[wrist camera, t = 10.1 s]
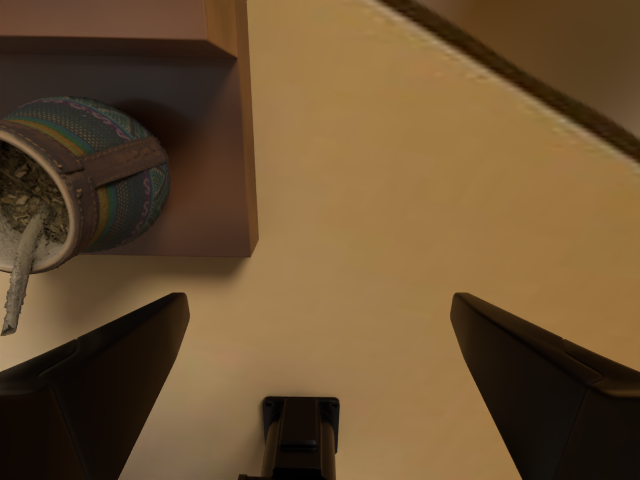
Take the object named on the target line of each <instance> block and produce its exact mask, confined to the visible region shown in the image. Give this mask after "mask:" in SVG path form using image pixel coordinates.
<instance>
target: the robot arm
mask: <svg viewBox="0 0 640 480" xmlns="http://www.w3.org/2000/svg"><path fill="white" fill-rule="evenodd" d="M189 319H190V312H189V306H188V300H187V296H186V294H185V293H171V294H169V295H167V296H164V297H162V298H160V299H158V300H156V301H154V302H152V303H150V304H148V305H146V306H143V307H141V308H139V309H137V310H135V311H133V312H131V313H129V314H127V315H125V316H122V317H120V318H118V319H116V320H114V321H112V322H110V323H108V324H106V325H103V326H101V327H99V328H97V329H95V330H93V331H91V332H89V333H87V334H85V335H82V336H80V337H78V338H77V340H76V339H74V340H72V341H70V342H68V343H66V344H63V345H61V346H59V347H57V348H55V349H53V350H50V351H48V352H46V353H44V354H41V355H39V356H37V357H34V358H32V359H30V360H28V361H25V362H23V363H21V364H18V365H16V366H13V367H11V368H9V369H6V370H4V371H1V372H0V480H118V478H119V476H120V474H121V472H122V470H123V468H124V465H125V463H126V461H127V459H128V457H129V455H130V453H131V451H132V449H133V447H134V445H135V443H136V441H137V439H138V437H139V434H140V432H141V430H142V428H143V426H144V424H145V422H146V420H147V418H148V416H149V414H150V412H151V410H152V408H153V406H154V403H155V401H156V399H157V397H158V395H159V393H160V391H161V389H162V387H163V385H164V383H165V381H166V379H167V377H168V375H169V372H170V370H171V368H172V366H173V364H174V362H175V360H176V357H177V355H178V352H179V349H180V346H181V343H182V340H183V337H184V334H185V331H186V329H187V326H188V323H189ZM450 319H451V323H452V326H453V329H454V331H455V334H456V337H457V340H458V343H459V346H460V349H461V352H462V354H463V357H464V360H465V362H466V364H467V366H468V368H469V370H470V372H471V375H472V377H473V379H474V381H475V383H476V385H477V387H478V389H479V391H480V393H481V395H482V397H483V399H484V401H485V403H486V406H487V408H488V410H489V412H490V414H491V416H492V418H493V420H494V422H495V424H496V426H497V428H498V430H499V432H500V434H501V437H502V439H503V441H504V443H505V445H506V447H507V449H508V451H509V453H510V455H511V457H512V459H513V461H514V463H515V465H516V468H517V470H518V472H519V474H520V476H521V478H522V480H640V372H639V371H636V370H634V369H631V368H629V367H627V366H624V365H622V364H619V363H617V362H615V361H612V360H610V359H608V358H606V357H603V356H601V355H599V354H596V353H594V352H592V351H590V350H587V349H585V348H583V347H581V346H579V345H577V344H575V343H572V342H570V341H568V340H566V339H564V340H563V338H562V337H560V336H558V335H555V334H553V333H551V332H549V331H547V330H545V329H543V328H541V327H539V326H537V325H534V324H532V323H530V322H528V321H526V320H524V319H522V318H520V317H518V316H515V315H513V314H511V313H509V312H507V311H505V310H503V309H501V308H499V307H497V306H494V305H492V304H490V303H488V302H486V301H484V300H482V299H480V298H478V297H476V296H473V295H471V294H469V293H455V294H454V296H453V300H452V306H451V312H450ZM268 402H269V403H268ZM333 403H335V404H333ZM339 409H340V403H339V400H338V399H337V398H334V397H272V396H269V397H266V398H265V399H264V402H263V415H264V433H265V453H264V459H263V465H262V472H261V477H255V476H247V475H245V474H239V478H238V480H336V468H335V454H336V453H337V446H338V427H339Z"/></svg>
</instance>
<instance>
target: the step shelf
mask: <svg viewBox="0 0 640 480" xmlns="http://www.w3.org/2000/svg"><path fill="white" fill-rule="evenodd" d="M53 95H54V96H60V95H61V96H74V97H87V98H90V99H95V100H97V101H100V102H103V103H106V104H109V105H111V106H113V107H117V108H119V109H121V110H122V111H125V112H127V113H128V114H130V115H132V116H133V117H134V118H136V119H137V120H138V121H140V122H141V123H142V125H144V126H145V127H146V128H147V129H148V130H149V131H150V132H152V134H153V135H155V136H156V137H158V140H159V141H160V142H161V143H162V144H160V146H162V147H163V148H164V149H165V151H166V154H167V156H168V159H169V160H168V161H169V167H170V176H171V190H170V195H169V197H168V199H167V202H166V204H165V206H164V208H163V210H162V212H161V214H160V215H159V217H158V219H157V220H156V221H155V222H154V224H153V226H151V227H150V228H149V230H148V231H146V232H145V233H143V235H141V236H139V237H138V238H136V239H135V240H134V241H133V242H130V243H128V244H125V245H123V246H120V247H117V248H113V249H109V250H108V251H99V252H93V253H79V254H90V255H148V256H205V257H251V255H252V253H253V251H254V249H255V246H256V244H257V242H258V240H259V237H258V217H257V197H256V178H255V158H254V138H253V119H252V99H251V79H250V60H249V40H248V20H247V1H246V0H0V120H1V119H3V118H4V117H5V116H7V115H8V114H9V112H11V111H14V110H15V109H16V108H18V107H20V106H22V105H24V104H27V103H30V102H32V101H34V100H37V99H41V98H48V97H54V96H53Z"/></svg>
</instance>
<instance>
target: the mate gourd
mask: <svg viewBox="0 0 640 480" xmlns="http://www.w3.org/2000/svg"><path fill="white" fill-rule="evenodd" d="M53 96H54V95H53ZM160 144H162V143H161V142H160V141H159V140H158V137H156V136H155V135H153V134H152V132H150V131H149V130H148V129H147V128H146V127H145V126H144V125H142V123H141V122H140V121H138V120H137V119H136V118H134V117H133V116H132V115H130V114H128V113H127V112H125V111H122V110H121V109H119V108H117V107H113V106H111V105H109V104H106V103H103V102H100V101H97V100H95V99H90V98H87V97H74V96H61V95H60V96H54V97H48V98H41V99H37V100H34V101H32V102H30V103H27V104H24V105H22V106H20V107H18V108H16V109H15V110H14V111H11V112H9V114H8V115H7V116H5V117H4V118H3V119H1V120H0V271H3V272H7V273H11V274H10V276H12V277H11V278H10V282H11V283H10V284H11V285H10V289H9V290H8V291H7V296H6V298H7V302H6V303H5V307H4V308H6V309H7V310H6V311H7V314H6V316H5V318H4V325H3V330H2V333H1V335H0V336H6V335H7V334H8V335H9V334H13V333H15V332H16V329H17V325H18V318H19V313H20V314H21V305H23V304H24V302H23V300H24V299H23V298H25V296H26V287H27V283H28V278H29V274H37V273H42V272H47V271H49V270H53V269H55V268H58V267H59V266H60V265H62V264H64V263H65V262H66V261H67V260H70V259H71V258H72V257H74V256H77V255H78V254H79V253H93V252H99V251H108V250H109V249H113V248H117V247H120V246H123V245H125V244H128V243H130V242H133V241H134V240H135V239H136V238H138V237H139V236H141V235H143V233H145V232H146V231H148V230H149V228H150V227H151V226H153V224H154V222H155V221H156V220H157V219H158V217H159V215H160V214H161V212H162V210H163V208H164V206H165V204H166V202H167V199H168V197H169V195H170V190H171V176H170V167H169V161H168V160H169V159H168V156H167V154H166V151H165V149H164V148H163V147H162V146H160Z"/></svg>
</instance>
